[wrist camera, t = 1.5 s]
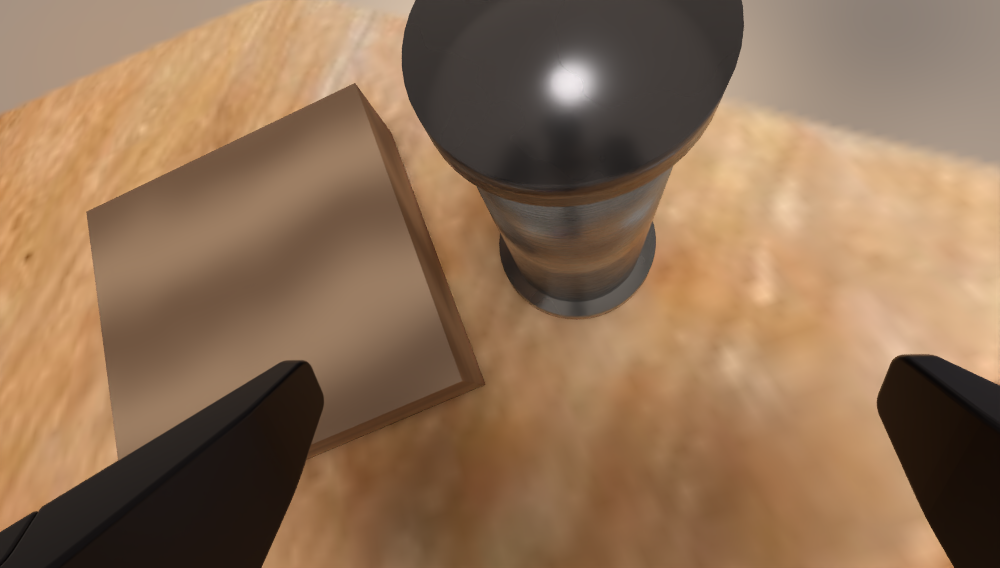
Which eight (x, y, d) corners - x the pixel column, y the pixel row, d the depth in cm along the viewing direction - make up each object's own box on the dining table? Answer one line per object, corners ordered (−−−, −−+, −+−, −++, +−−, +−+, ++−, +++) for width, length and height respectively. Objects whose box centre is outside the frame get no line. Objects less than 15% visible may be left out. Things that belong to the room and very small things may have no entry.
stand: (485, 384, 20) (462, 380, 17) (208, 500, 21) (126, 522, 18) (390, 132, 24) (354, 83, 21) (161, 240, 25) (86, 211, 22)
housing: (593, 350, 20) (605, 269, 8) (473, 262, 22) (327, 83, 9) (684, 227, 21) (834, -35, 8) (559, 152, 22) (528, -153, 10)
